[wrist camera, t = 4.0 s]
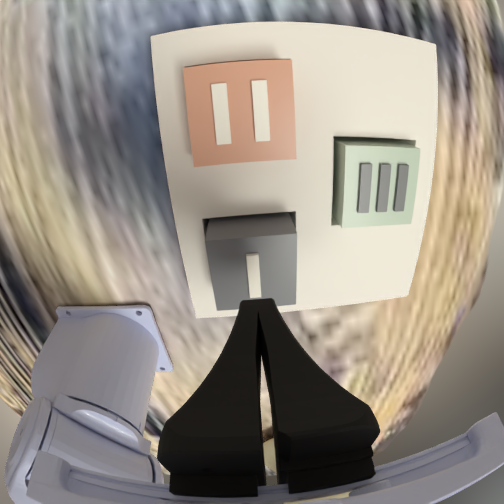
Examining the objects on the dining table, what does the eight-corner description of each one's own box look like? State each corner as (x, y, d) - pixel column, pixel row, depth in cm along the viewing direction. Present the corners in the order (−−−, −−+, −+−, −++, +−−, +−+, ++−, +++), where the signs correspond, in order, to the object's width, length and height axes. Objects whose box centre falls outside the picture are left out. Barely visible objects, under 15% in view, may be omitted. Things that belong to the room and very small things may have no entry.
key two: (202, 153, 15) (193, 168, 12) (193, 73, 13) (182, 67, 10) (285, 147, 15) (297, 160, 12) (281, 66, 13) (292, 59, 10)
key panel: (199, 294, 21) (196, 318, 19) (162, 43, 13) (150, 36, 11) (394, 276, 21) (407, 295, 19) (413, 47, 13) (435, 44, 11)
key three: (326, 206, 18) (342, 229, 15) (327, 136, 15) (347, 146, 13) (389, 204, 18) (412, 225, 15) (394, 138, 16) (422, 149, 13)
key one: (219, 279, 19) (216, 313, 16) (209, 215, 17) (204, 243, 14) (288, 274, 19) (296, 306, 16) (287, 209, 17) (298, 235, 14)
